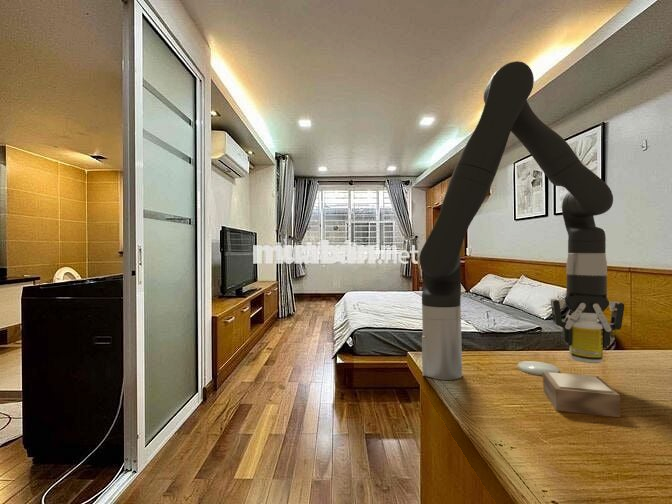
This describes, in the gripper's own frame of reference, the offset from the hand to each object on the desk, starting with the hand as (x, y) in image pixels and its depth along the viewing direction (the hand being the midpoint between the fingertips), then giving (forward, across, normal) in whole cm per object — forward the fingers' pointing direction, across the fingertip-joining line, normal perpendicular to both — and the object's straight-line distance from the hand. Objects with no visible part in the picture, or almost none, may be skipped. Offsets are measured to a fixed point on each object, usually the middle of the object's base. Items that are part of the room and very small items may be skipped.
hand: (585, 345), depth 80 cm
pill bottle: (+3, 0, 0) cm, 3 cm away
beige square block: (+8, -6, -13) cm, 17 cm away
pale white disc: (+9, -8, +7) cm, 14 cm away
